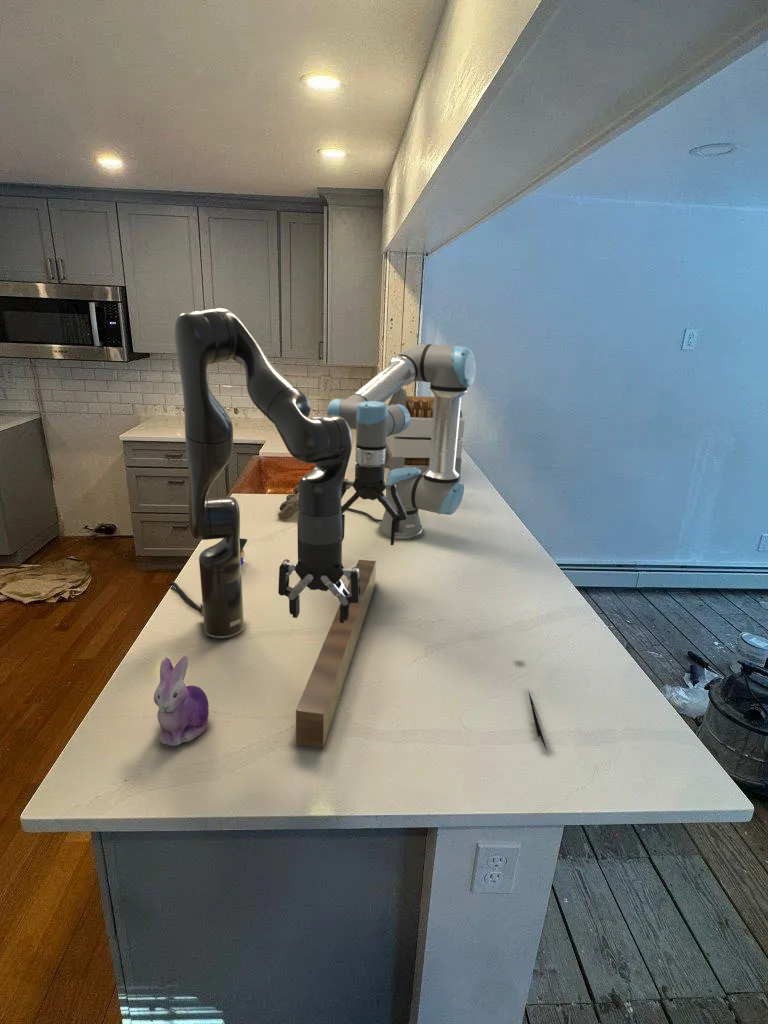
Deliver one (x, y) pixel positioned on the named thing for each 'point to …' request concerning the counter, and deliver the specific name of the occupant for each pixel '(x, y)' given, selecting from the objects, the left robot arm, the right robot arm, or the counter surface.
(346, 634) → the post
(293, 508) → the fossil
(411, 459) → the white wooden crate
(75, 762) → the counter surface
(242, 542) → the figurine character
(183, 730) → the figurine
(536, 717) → the feather
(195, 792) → the counter surface
